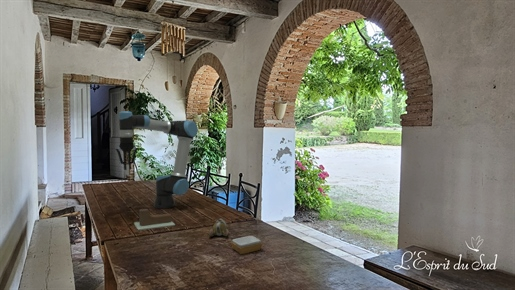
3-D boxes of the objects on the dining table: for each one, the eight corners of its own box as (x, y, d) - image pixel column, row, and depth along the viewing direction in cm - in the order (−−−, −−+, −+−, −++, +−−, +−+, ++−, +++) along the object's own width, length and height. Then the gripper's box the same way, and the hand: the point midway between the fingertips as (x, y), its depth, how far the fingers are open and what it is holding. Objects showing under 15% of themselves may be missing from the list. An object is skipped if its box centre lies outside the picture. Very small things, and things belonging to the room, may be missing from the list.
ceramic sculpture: (230, 215, 184) (228, 224, 169) (230, 230, 185) (228, 240, 170) (211, 215, 184) (207, 224, 169) (211, 230, 185) (208, 240, 170)
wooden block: (140, 211, 189) (171, 207, 197) (139, 209, 192) (169, 206, 201) (140, 226, 189) (171, 222, 198) (139, 224, 193) (169, 220, 202)
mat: (168, 219, 206) (168, 218, 206) (175, 225, 193) (175, 224, 193) (134, 223, 196) (133, 222, 196) (137, 230, 183) (137, 229, 183)
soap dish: (252, 244, 163) (252, 234, 163) (262, 250, 155) (263, 240, 155) (230, 249, 157) (230, 239, 156) (240, 256, 148) (240, 245, 148)
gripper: (115, 137, 192) (117, 176, 194) (138, 136, 199) (139, 174, 200) (114, 136, 199) (115, 175, 200) (136, 136, 205) (137, 173, 207)
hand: (127, 174), depth 200 cm, fingers closed
